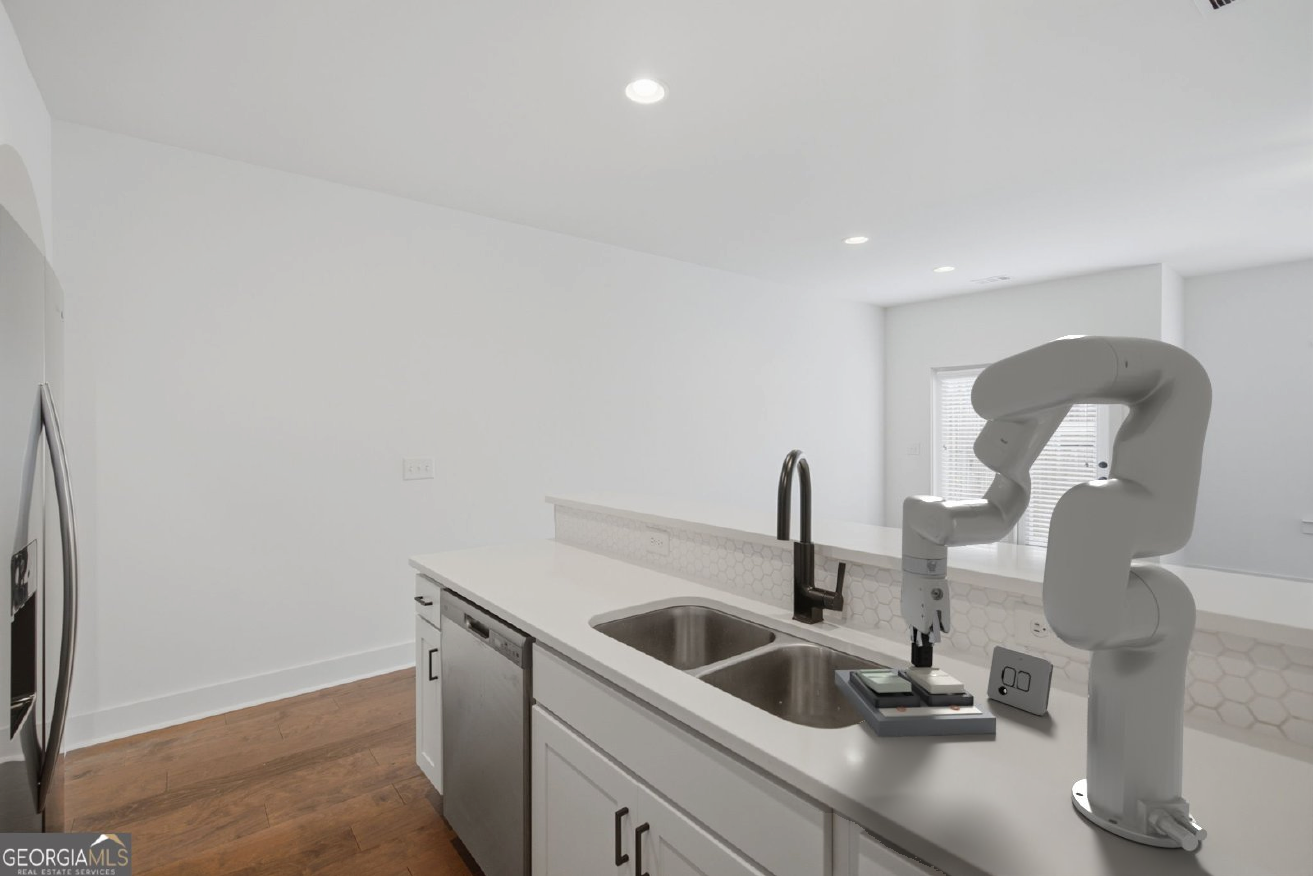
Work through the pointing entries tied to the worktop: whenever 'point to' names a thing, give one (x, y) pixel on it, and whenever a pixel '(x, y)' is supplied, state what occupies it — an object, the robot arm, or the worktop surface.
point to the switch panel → (914, 709)
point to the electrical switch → (1020, 680)
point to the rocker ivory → (934, 680)
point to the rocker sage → (884, 681)
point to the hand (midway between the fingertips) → (921, 665)
